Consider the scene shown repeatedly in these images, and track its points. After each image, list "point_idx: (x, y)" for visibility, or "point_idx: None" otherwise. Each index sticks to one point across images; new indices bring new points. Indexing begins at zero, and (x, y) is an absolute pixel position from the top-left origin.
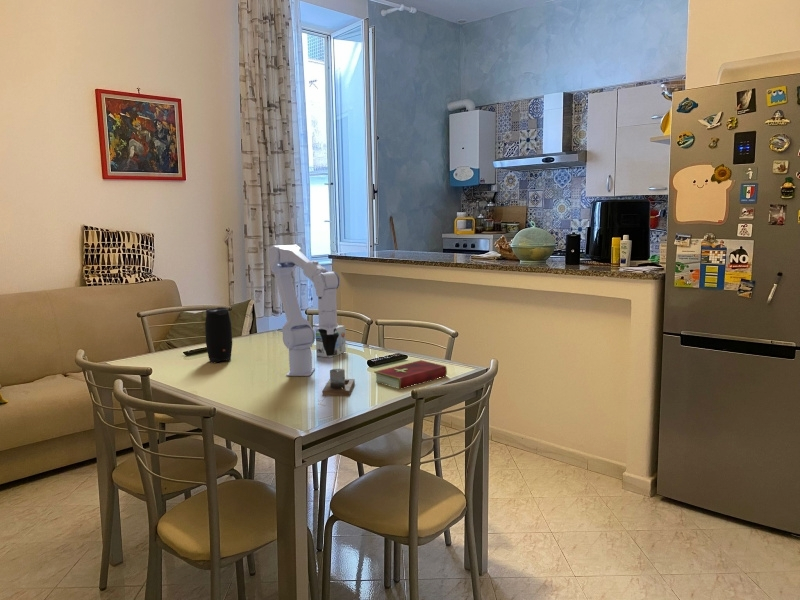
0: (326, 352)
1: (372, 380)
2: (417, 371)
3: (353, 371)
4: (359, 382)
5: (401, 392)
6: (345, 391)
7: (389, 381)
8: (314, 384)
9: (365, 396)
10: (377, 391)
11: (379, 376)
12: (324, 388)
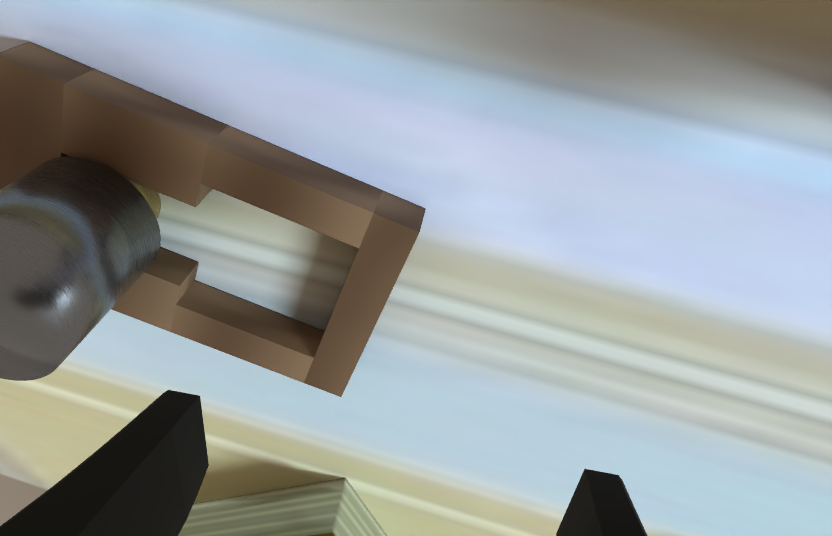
0: (127, 430)
1: (390, 474)
2: None
3: (714, 467)
4: (371, 402)
5: None
6: None
7: (221, 523)
8: (458, 61)
9: None
10: (125, 415)
11: (301, 523)
12: (76, 97)
